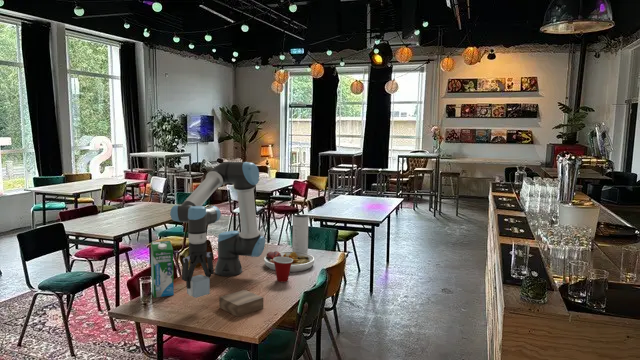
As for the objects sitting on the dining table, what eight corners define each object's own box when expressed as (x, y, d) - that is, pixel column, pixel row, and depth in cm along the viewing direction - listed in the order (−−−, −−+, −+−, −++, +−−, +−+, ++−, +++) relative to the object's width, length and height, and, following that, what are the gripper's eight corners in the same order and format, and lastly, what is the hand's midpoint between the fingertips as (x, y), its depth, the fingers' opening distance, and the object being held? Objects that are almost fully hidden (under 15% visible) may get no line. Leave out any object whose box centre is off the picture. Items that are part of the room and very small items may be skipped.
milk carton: (153, 298, 210) (153, 246, 207) (151, 291, 218) (150, 242, 215) (173, 295, 214) (173, 244, 212) (170, 289, 222) (170, 240, 220)
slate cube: (187, 293, 195) (186, 278, 194) (201, 289, 200) (201, 274, 199) (195, 297, 190) (195, 282, 189) (209, 293, 195) (209, 278, 194)
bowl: (319, 261, 278) (319, 249, 277) (307, 275, 249) (307, 262, 248) (273, 257, 284) (273, 245, 284) (256, 271, 255) (256, 258, 255)
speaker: (311, 254, 293) (311, 215, 291) (299, 257, 286) (300, 217, 283) (300, 251, 301) (300, 213, 298) (288, 253, 293) (289, 214, 291)
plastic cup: (290, 284, 233) (290, 262, 231) (270, 282, 235) (270, 260, 234) (295, 278, 243) (295, 256, 242) (276, 276, 245) (276, 255, 244)
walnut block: (219, 307, 200) (219, 297, 199) (244, 299, 210) (244, 289, 209) (237, 316, 190) (237, 305, 190) (263, 308, 200) (263, 297, 200)
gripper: (180, 247, 183) (182, 301, 185) (222, 239, 197) (222, 289, 200) (171, 244, 188) (173, 296, 190) (212, 236, 202) (213, 285, 205)
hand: (198, 292), depth 195 cm, fingers closed on slate cube, 7 cm apart
